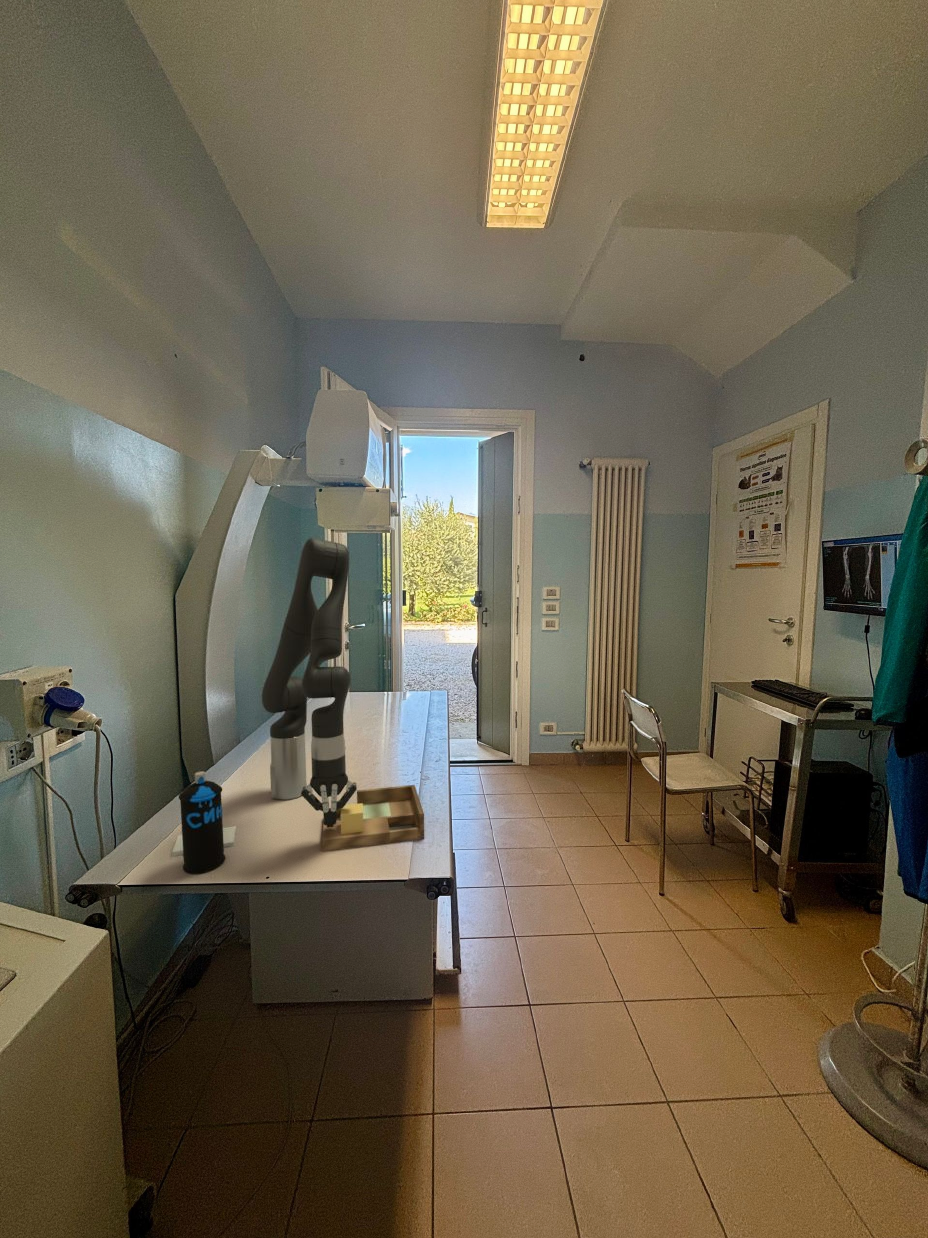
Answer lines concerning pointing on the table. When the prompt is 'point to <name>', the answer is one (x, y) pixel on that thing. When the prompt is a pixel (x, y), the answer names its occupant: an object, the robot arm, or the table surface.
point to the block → (352, 818)
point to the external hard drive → (227, 840)
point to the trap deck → (380, 819)
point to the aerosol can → (202, 826)
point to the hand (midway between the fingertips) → (330, 825)
